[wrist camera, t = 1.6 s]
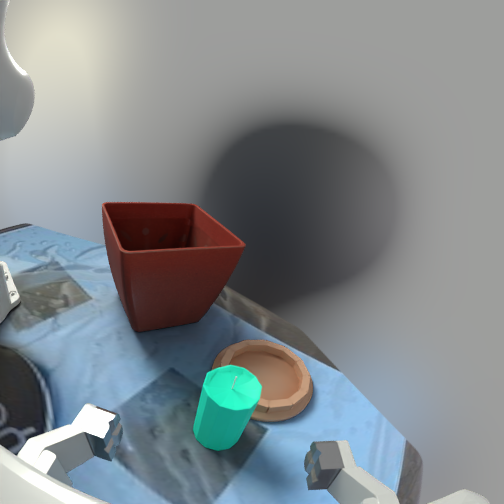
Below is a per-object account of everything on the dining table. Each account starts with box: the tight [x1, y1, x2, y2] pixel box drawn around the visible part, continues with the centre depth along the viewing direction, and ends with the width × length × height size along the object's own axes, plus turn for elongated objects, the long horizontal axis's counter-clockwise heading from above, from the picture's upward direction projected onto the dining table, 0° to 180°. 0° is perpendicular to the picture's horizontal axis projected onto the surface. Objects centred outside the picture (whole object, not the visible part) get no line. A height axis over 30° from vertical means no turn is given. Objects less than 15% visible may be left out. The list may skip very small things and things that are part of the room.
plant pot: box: [102, 202, 245, 332], centre depth 47 cm, size 19×19×17 cm
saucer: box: [212, 340, 313, 422], centre depth 40 cm, size 16×16×2 cm
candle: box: [193, 365, 262, 451], centre depth 28 cm, size 6×6×12 cm
